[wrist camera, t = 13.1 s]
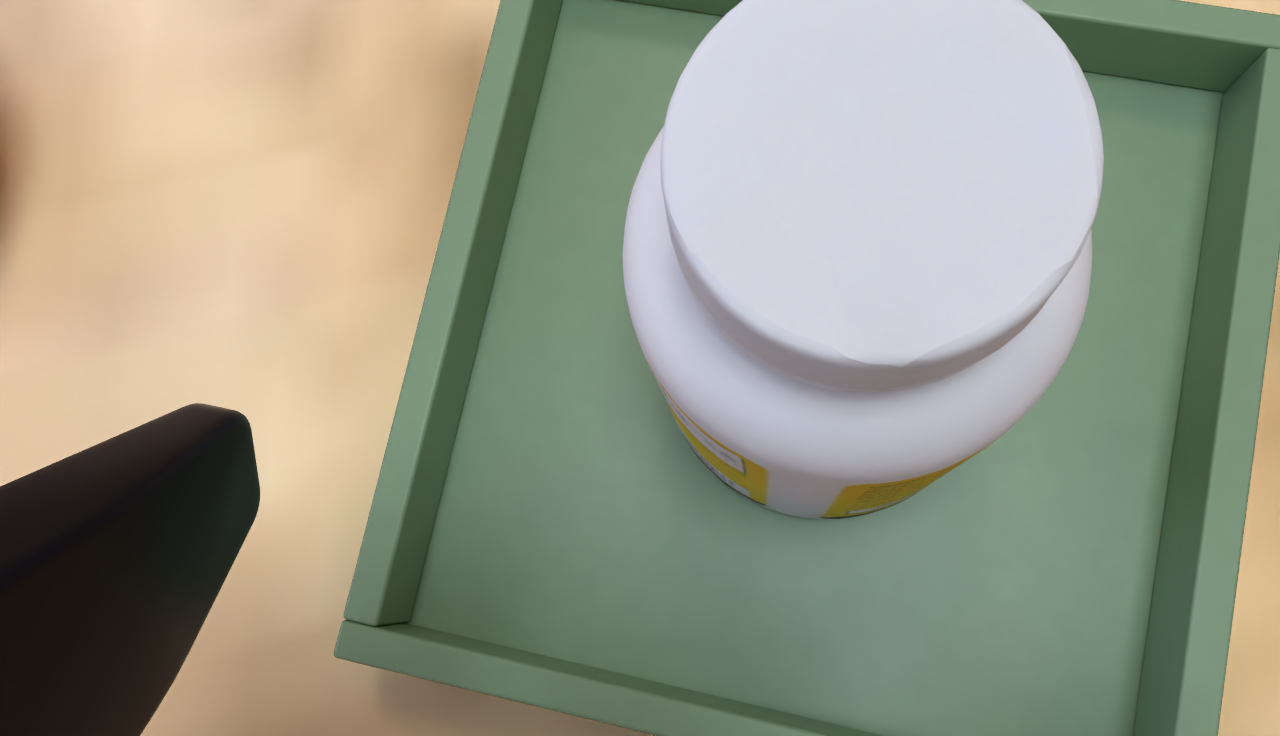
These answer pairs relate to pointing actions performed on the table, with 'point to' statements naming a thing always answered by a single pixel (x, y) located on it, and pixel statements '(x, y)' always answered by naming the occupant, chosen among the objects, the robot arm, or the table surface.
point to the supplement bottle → (863, 242)
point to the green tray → (828, 548)
